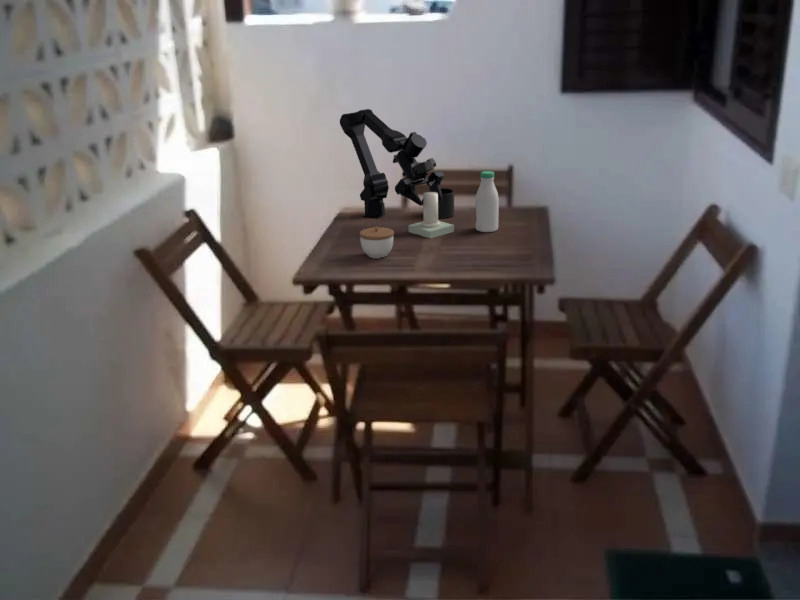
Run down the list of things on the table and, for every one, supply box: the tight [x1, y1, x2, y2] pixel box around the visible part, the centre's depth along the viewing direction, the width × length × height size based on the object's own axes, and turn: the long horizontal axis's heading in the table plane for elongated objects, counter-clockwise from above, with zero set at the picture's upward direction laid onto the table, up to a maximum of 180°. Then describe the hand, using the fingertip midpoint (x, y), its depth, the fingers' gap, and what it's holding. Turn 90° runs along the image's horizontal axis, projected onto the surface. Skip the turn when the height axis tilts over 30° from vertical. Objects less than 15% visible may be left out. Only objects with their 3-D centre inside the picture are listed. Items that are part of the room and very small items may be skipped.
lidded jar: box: [359, 226, 395, 259], centre depth 274 cm, size 11×11×9 cm
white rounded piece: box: [421, 191, 441, 228], centre depth 296 cm, size 6×6×11 cm
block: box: [408, 220, 455, 239], centre depth 298 cm, size 11×11×2 cm
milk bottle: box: [475, 170, 499, 233], centre depth 296 cm, size 8×8×20 cm
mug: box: [421, 187, 455, 219], centre depth 317 cm, size 9×12×9 cm
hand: (431, 202), depth 295 cm, fingers open, 9 cm apart
